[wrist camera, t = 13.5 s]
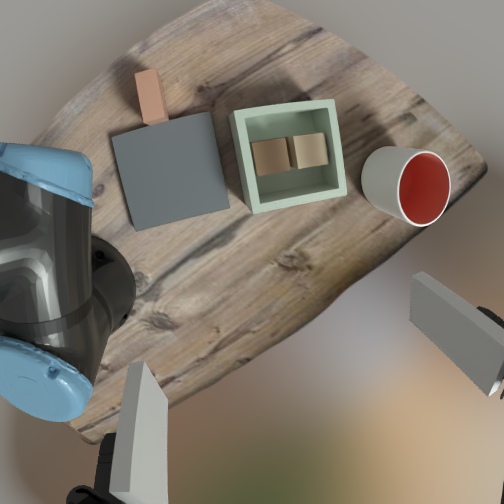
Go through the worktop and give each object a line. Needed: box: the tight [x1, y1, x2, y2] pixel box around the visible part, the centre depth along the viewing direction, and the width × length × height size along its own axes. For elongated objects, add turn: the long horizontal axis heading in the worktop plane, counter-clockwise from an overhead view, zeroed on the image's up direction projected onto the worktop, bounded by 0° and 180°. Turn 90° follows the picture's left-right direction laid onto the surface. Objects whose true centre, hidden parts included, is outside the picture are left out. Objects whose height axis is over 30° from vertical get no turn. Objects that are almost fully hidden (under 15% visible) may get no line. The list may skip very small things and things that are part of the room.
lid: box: [111, 68, 230, 232], centre depth 34 cm, size 13×19×6 cm
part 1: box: [249, 138, 290, 176], centre depth 36 cm, size 4×4×4 cm
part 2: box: [284, 132, 329, 169], centre depth 37 cm, size 4×4×4 cm
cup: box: [361, 146, 450, 226], centre depth 38 cm, size 10×10×10 cm
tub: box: [228, 99, 347, 214], centre depth 36 cm, size 12×12×6 cm
